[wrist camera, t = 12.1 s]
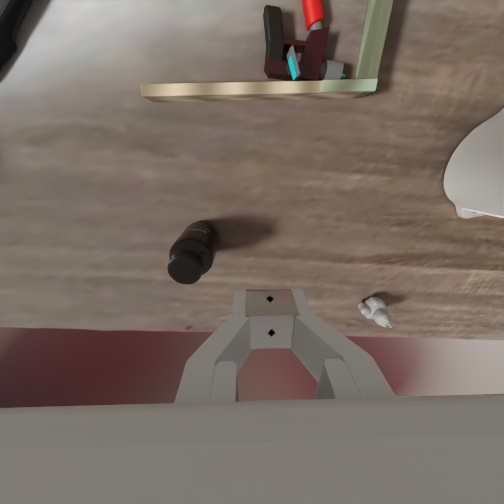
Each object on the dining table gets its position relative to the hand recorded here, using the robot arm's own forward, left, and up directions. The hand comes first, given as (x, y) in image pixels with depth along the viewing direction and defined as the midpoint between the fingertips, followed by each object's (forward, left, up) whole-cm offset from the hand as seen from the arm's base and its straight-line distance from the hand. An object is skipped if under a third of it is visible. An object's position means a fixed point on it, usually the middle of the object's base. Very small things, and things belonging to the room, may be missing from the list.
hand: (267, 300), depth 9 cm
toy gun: (-8, -19, -29) cm, 35 cm away
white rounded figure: (-27, +27, -29) cm, 48 cm away
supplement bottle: (+10, +9, -29) cm, 32 cm away
